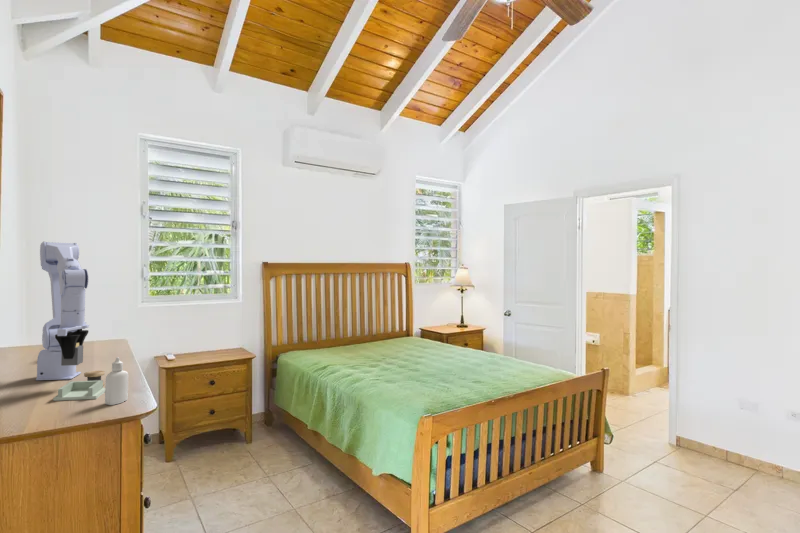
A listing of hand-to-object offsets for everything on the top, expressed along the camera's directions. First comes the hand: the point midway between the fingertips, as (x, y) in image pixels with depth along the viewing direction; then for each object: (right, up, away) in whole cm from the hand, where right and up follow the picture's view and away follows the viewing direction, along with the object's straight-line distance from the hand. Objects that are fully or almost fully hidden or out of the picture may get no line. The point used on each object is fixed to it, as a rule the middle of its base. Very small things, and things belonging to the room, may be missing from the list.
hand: (71, 356), depth 133 cm
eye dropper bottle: (+20, -10, -12) cm, 26 cm away
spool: (+5, -9, +2) cm, 11 cm away
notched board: (+8, -9, -7) cm, 14 cm away
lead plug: (0, -2, 0) cm, 2 cm away
